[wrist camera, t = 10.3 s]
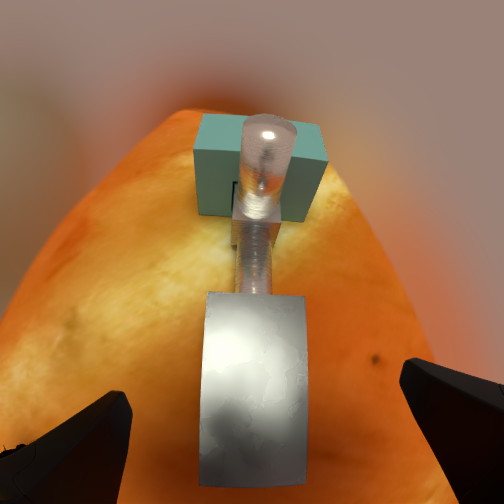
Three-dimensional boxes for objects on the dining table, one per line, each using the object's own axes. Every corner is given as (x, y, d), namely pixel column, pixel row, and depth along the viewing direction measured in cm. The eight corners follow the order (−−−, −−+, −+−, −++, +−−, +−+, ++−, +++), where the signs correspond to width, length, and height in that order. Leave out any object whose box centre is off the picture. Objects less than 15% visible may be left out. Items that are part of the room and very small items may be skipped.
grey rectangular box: (286, 464, 15) (305, 483, 11) (205, 463, 15) (199, 485, 10) (287, 318, 21) (304, 295, 17) (211, 314, 21) (207, 291, 16)
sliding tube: (274, 403, 17) (328, 413, 8) (222, 402, 17) (220, 416, 7) (271, 189, 26) (292, 95, 17) (235, 186, 26) (243, 90, 17)
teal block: (303, 222, 26) (328, 161, 19) (198, 214, 25) (193, 149, 18) (299, 184, 28) (318, 125, 21) (205, 177, 28) (203, 113, 21)
